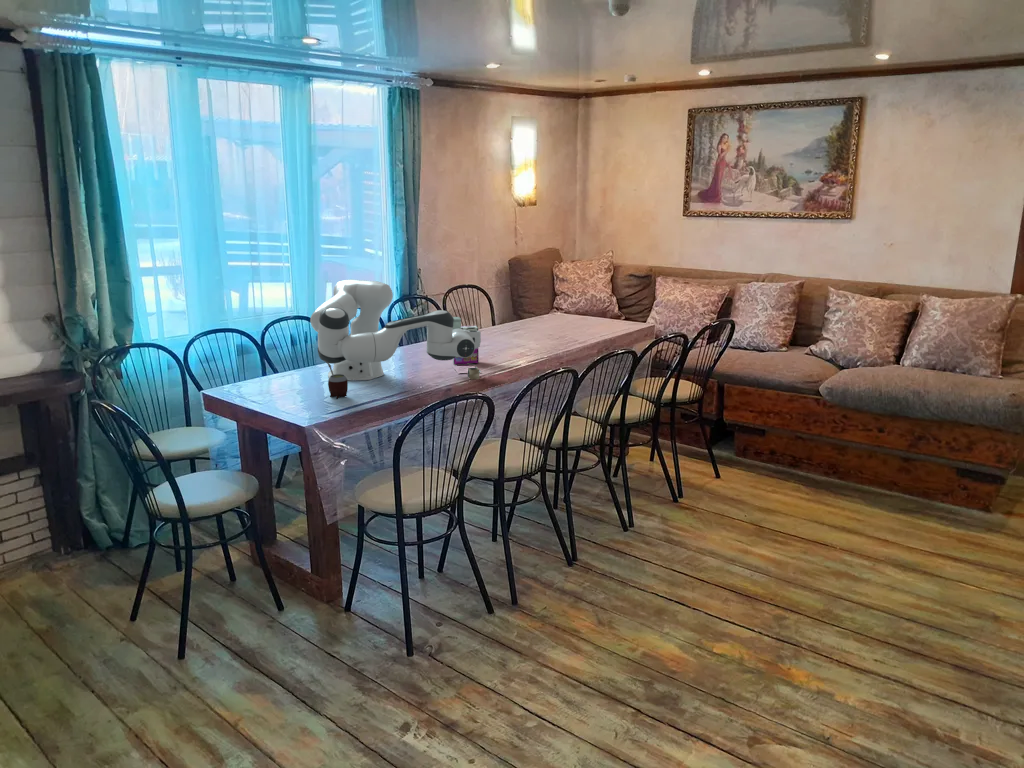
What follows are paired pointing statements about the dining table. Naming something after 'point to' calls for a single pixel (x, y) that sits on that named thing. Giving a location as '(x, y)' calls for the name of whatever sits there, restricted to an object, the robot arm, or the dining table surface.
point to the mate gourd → (337, 384)
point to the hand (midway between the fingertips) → (452, 333)
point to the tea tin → (457, 323)
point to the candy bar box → (474, 357)
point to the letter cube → (473, 373)
